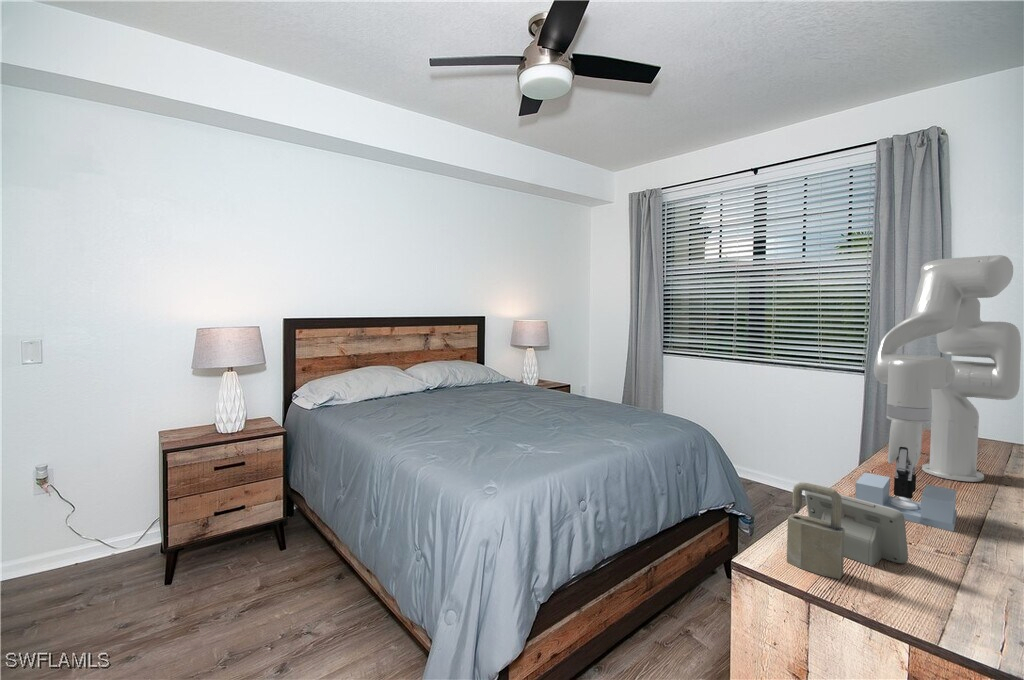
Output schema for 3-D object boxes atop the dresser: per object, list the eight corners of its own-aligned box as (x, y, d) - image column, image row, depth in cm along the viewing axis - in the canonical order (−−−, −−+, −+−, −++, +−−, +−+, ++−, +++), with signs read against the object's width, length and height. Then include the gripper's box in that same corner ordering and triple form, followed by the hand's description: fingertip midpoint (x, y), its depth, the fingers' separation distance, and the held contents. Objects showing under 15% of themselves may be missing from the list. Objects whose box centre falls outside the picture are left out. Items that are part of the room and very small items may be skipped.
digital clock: (914, 566, 85) (917, 508, 84) (884, 577, 81) (886, 517, 81) (823, 528, 100) (825, 479, 99) (794, 537, 96) (796, 485, 96)
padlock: (791, 555, 89) (794, 476, 88) (844, 572, 83) (847, 488, 82) (785, 563, 86) (787, 482, 85) (838, 581, 80) (841, 494, 79)
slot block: (862, 496, 117) (863, 472, 117) (956, 516, 105) (957, 490, 105) (853, 507, 110) (854, 482, 110) (953, 531, 98) (955, 503, 98)
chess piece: (920, 511, 104) (923, 467, 103) (892, 506, 107) (894, 463, 106) (916, 503, 108) (918, 460, 108) (888, 499, 111) (891, 457, 110)
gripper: (892, 405, 115) (889, 480, 116) (880, 416, 103) (877, 499, 104) (933, 410, 109) (930, 488, 110) (926, 422, 98) (922, 509, 99)
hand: (904, 492), depth 107 cm, fingers open, 4 cm apart
